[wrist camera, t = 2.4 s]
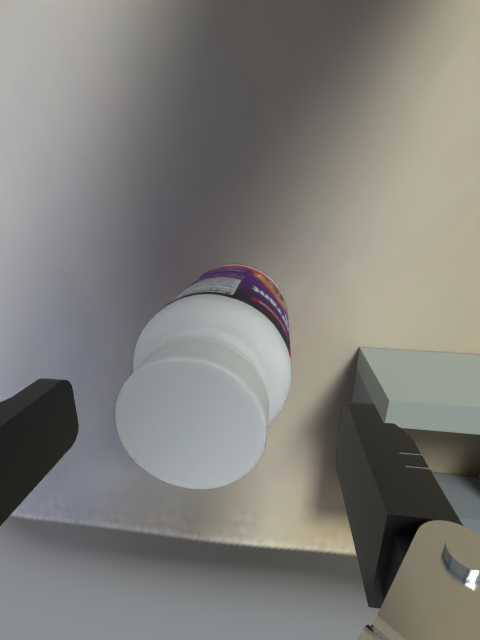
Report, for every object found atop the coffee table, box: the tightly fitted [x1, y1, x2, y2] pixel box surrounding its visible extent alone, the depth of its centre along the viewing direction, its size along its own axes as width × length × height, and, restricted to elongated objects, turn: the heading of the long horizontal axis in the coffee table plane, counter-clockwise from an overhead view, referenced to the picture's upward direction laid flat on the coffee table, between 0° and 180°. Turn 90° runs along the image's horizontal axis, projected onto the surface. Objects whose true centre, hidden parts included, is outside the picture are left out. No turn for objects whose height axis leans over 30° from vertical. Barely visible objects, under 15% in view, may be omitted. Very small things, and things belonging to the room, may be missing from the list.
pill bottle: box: [115, 264, 292, 489], centre depth 13 cm, size 5×5×10 cm
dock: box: [345, 347, 480, 534], centre depth 16 cm, size 9×9×5 cm
